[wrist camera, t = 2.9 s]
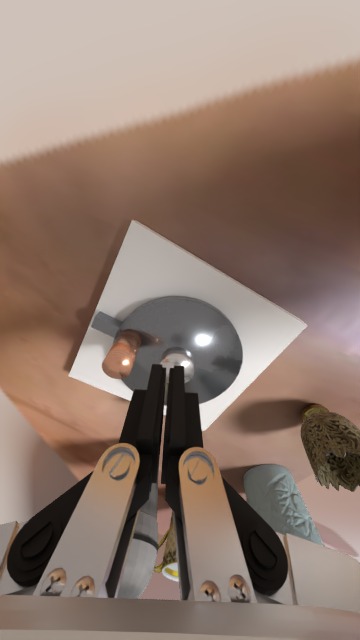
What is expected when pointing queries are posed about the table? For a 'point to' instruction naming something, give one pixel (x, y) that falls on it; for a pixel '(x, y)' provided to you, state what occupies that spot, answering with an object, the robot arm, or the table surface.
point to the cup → (331, 447)
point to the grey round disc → (173, 345)
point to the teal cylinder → (279, 501)
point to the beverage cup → (142, 550)
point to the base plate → (191, 281)
